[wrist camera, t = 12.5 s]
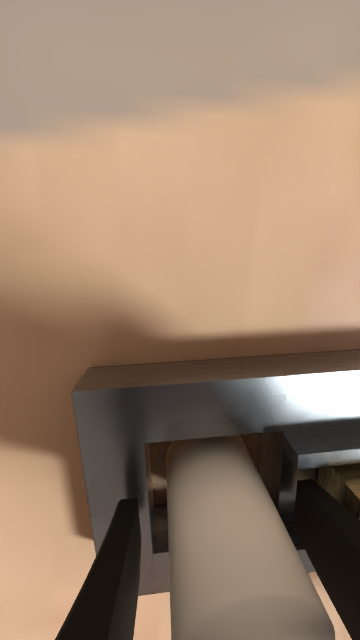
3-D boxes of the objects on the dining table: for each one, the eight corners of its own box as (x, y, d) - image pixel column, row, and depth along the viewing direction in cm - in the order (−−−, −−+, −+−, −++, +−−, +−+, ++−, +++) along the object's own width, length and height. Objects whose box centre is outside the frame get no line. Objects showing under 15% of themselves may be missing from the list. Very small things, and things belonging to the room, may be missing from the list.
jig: (393, 347, 11) (478, 375, 8) (365, 516, 13) (424, 587, 10) (88, 367, 10) (58, 408, 7) (112, 546, 12) (96, 636, 9)
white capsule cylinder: (249, 420, 11) (348, 587, 5) (242, 489, 12) (322, 698, 6) (166, 424, 11) (173, 605, 5) (165, 494, 12) (171, 721, 6)
